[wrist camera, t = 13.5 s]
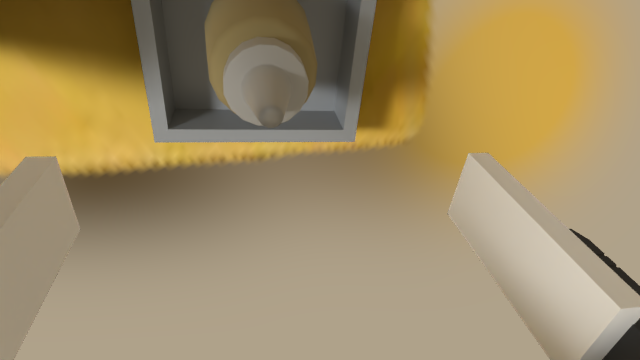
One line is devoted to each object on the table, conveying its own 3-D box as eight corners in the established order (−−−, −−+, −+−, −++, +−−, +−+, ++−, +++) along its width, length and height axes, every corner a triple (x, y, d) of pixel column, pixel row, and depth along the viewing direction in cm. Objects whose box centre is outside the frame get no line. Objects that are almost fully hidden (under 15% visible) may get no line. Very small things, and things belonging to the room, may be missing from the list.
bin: (164, 117, 36) (154, 142, 32) (130, -114, 26) (110, -120, 22) (342, 118, 39) (354, 141, 35) (369, -86, 30) (390, -87, 26)
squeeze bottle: (244, 90, 35) (246, 212, 20) (186, 7, 30) (136, 89, 16) (320, 44, 34) (381, 139, 19) (272, -49, 29) (304, -17, 15)
